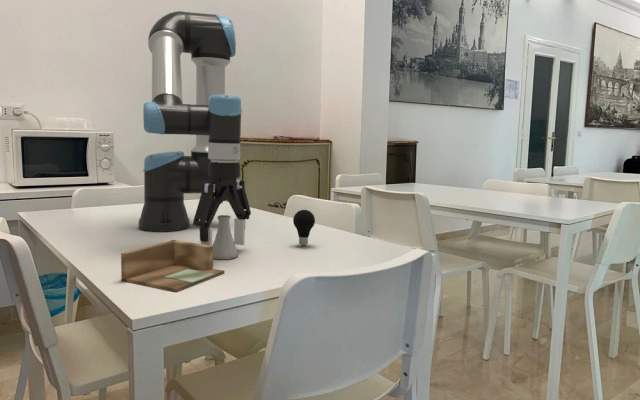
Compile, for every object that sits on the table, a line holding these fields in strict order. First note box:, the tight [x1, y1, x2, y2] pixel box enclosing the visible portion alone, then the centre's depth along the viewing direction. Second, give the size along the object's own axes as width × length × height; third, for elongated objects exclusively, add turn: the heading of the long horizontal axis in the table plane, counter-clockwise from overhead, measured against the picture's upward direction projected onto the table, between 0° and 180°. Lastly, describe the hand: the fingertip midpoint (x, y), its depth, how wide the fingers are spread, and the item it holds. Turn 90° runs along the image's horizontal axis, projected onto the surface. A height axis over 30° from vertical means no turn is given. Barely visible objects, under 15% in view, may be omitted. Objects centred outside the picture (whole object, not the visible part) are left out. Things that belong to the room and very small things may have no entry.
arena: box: [120, 239, 225, 293], centre depth 104 cm, size 14×15×6 cm
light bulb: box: [292, 209, 316, 247], centre depth 136 cm, size 6×6×10 cm
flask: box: [212, 214, 239, 260], centre depth 122 cm, size 7×7×10 cm
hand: (223, 249), depth 122 cm, fingers open, 12 cm apart
